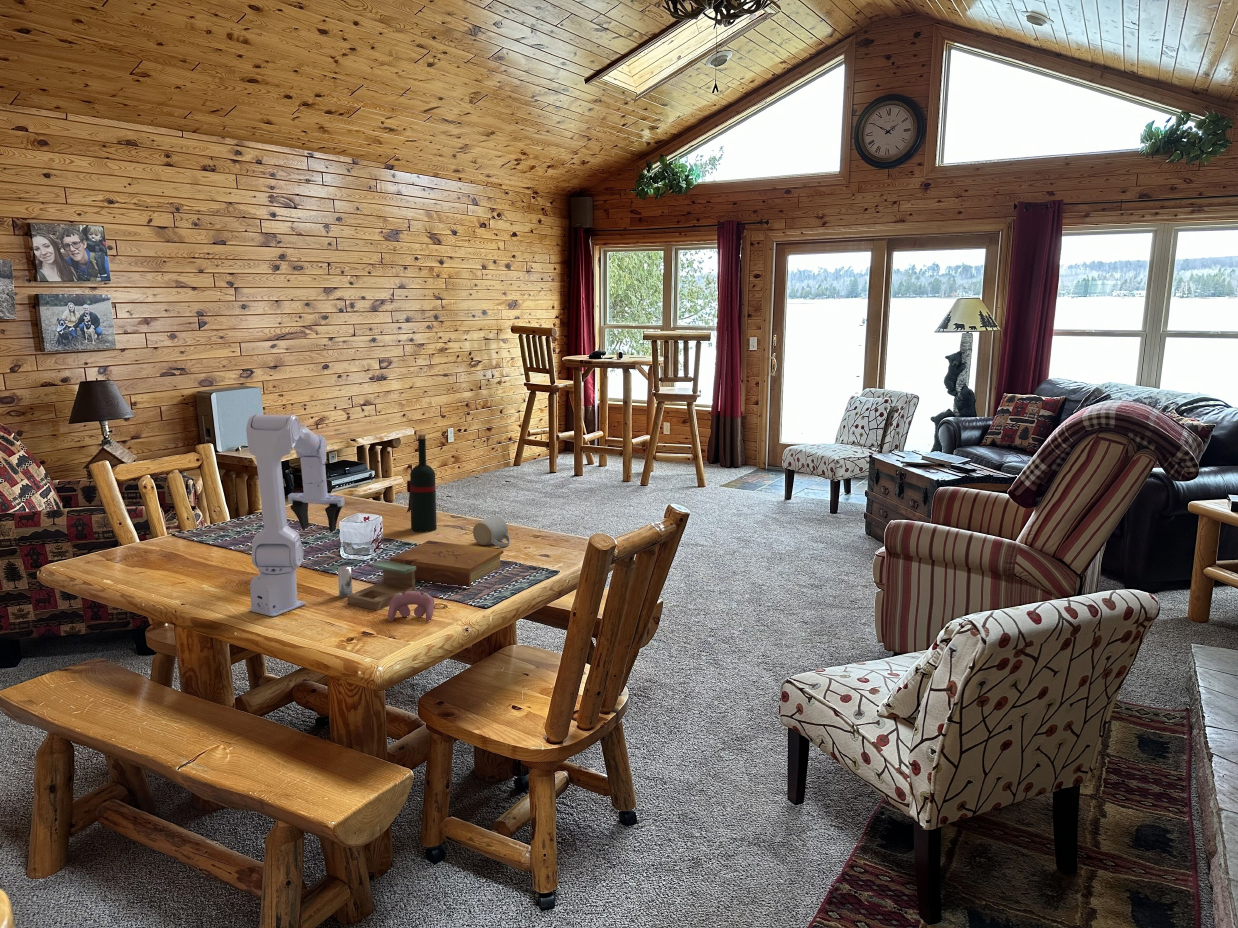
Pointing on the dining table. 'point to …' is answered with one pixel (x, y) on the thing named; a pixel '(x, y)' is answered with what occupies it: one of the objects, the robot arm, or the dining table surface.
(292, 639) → the dining table surface
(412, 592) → the video game controller
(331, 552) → the dining table surface
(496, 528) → the ceramic mug
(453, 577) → the diary
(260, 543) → the robot arm
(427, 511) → the wine bottle
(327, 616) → the dining table surface
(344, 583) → the peg
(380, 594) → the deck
